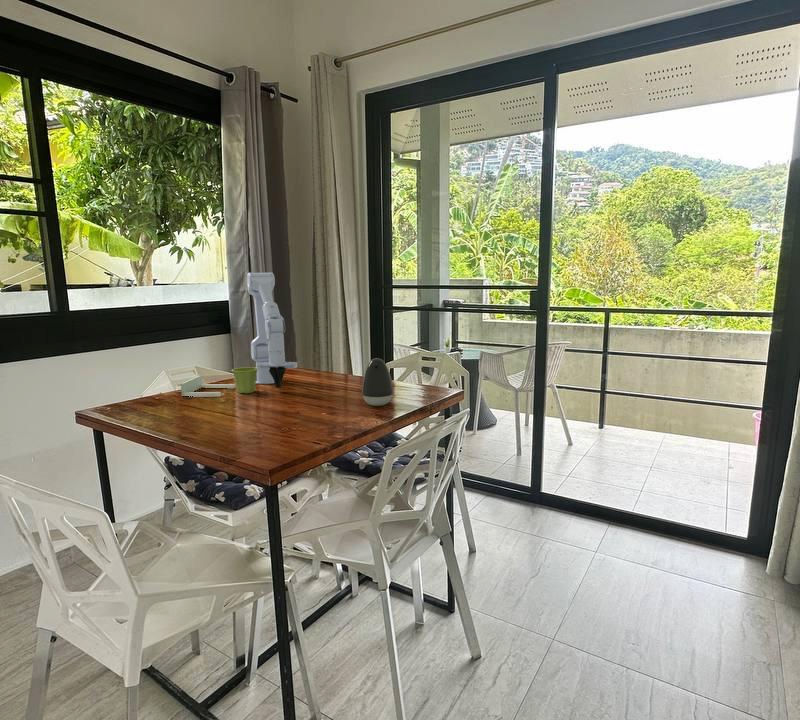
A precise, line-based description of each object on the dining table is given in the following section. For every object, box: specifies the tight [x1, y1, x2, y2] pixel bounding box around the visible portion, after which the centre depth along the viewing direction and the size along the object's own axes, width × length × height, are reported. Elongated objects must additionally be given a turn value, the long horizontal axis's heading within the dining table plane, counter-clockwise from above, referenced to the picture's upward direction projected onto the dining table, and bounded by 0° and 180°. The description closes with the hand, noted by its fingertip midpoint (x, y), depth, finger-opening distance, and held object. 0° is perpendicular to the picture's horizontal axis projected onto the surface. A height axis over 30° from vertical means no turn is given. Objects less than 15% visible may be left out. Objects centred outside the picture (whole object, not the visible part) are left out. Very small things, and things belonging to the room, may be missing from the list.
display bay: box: [180, 375, 236, 398], centre depth 190 cm, size 15×14×5 cm
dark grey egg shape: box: [361, 357, 394, 407], centre depth 166 cm, size 10×10×15 cm
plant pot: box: [231, 366, 258, 394], centre depth 189 cm, size 9×9×9 cm
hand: (278, 387), depth 189 cm, fingers closed
